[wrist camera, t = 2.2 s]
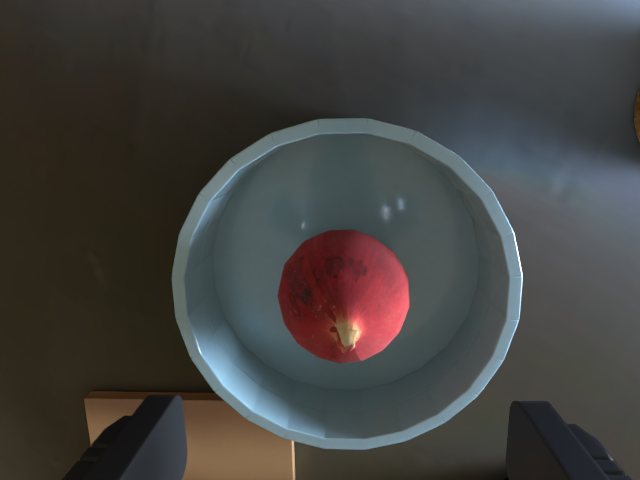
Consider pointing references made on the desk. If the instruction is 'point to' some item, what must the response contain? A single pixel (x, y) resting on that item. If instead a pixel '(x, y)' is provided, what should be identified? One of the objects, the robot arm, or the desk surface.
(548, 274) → the desk surface
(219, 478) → the plate
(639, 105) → the disposable coffee cup
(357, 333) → the onion
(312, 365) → the light blue bowl
